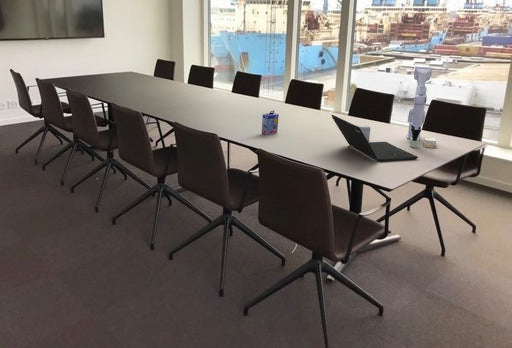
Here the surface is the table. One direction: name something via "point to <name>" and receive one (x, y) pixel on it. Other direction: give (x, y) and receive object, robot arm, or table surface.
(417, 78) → the robot arm
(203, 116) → the table surface
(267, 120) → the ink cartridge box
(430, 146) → the bottom slab
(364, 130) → the medicine box
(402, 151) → the laptop
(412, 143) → the cube
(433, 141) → the top slab
